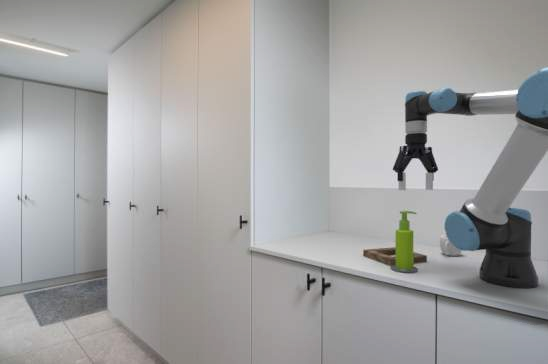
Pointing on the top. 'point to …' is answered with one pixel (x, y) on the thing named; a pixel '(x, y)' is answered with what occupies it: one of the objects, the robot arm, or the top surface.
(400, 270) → the coaster
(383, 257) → the pocket frame
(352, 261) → the top surface
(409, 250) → the soap dispenser
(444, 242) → the mug
